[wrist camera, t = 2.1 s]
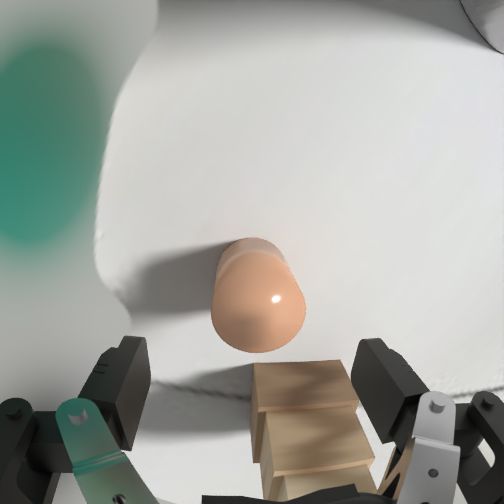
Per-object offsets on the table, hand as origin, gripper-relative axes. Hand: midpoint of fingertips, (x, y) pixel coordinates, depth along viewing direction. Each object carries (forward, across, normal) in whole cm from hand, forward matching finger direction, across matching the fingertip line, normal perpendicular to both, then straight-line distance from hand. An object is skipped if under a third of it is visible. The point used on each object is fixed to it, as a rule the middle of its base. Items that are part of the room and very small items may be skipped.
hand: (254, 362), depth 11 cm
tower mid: (+5, -5, +11) cm, 13 cm away
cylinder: (+10, -1, 0) cm, 10 cm away
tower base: (+10, -5, +11) cm, 16 cm away
